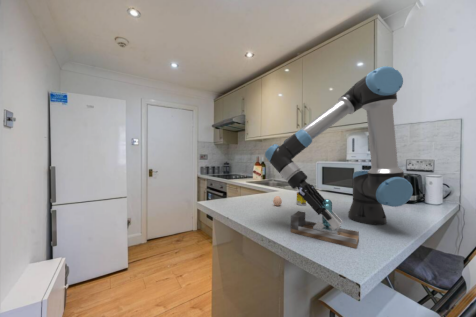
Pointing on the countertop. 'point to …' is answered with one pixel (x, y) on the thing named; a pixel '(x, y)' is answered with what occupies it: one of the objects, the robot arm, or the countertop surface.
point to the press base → (306, 229)
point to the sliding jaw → (325, 225)
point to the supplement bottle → (300, 199)
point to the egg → (277, 201)
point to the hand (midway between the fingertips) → (338, 225)
